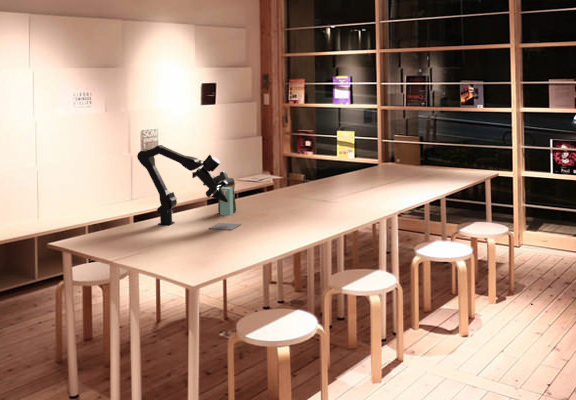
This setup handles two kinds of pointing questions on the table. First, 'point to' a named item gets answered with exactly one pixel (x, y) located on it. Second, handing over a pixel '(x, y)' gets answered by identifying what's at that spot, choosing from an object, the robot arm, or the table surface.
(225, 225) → the mat
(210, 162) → the robot arm
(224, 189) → the teal tall block
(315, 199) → the table surface
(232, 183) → the coffee jar
